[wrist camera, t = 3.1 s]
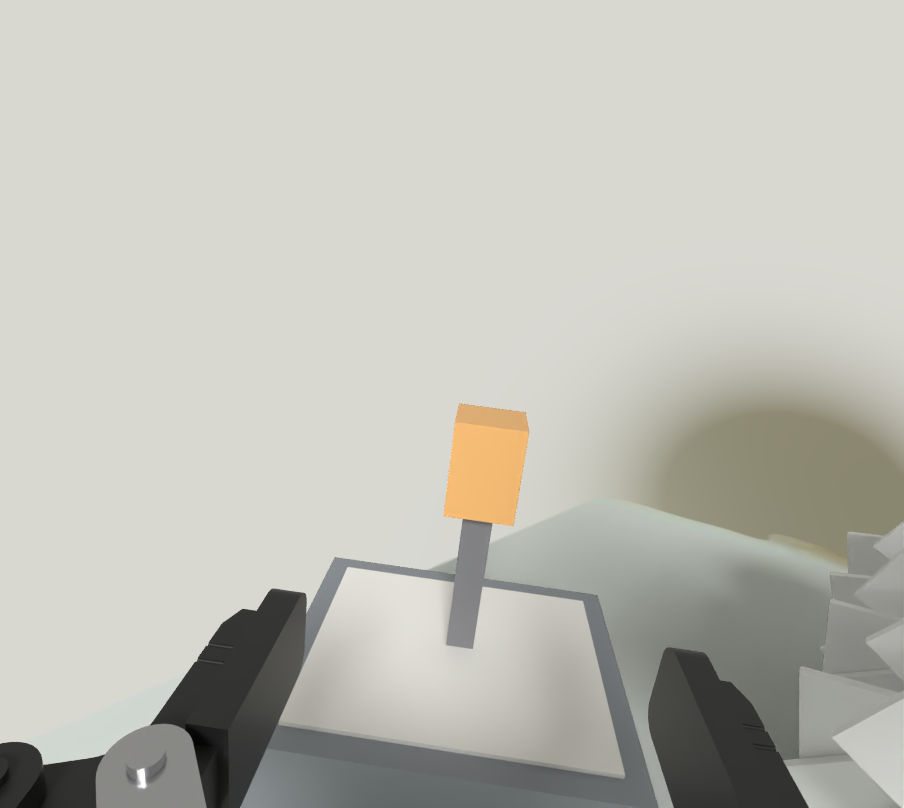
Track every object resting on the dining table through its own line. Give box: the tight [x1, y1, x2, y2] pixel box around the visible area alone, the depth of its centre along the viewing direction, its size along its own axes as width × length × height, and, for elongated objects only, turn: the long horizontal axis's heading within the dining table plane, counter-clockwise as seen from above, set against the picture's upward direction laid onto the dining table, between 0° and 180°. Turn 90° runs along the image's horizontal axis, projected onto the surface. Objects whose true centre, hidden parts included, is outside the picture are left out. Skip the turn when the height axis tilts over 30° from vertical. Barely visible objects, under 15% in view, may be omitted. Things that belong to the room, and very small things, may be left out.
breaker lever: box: [444, 404, 529, 649], centre depth 23 cm, size 2×3×11 cm
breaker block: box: [241, 557, 658, 808], centre depth 26 cm, size 12×15×8 cm
